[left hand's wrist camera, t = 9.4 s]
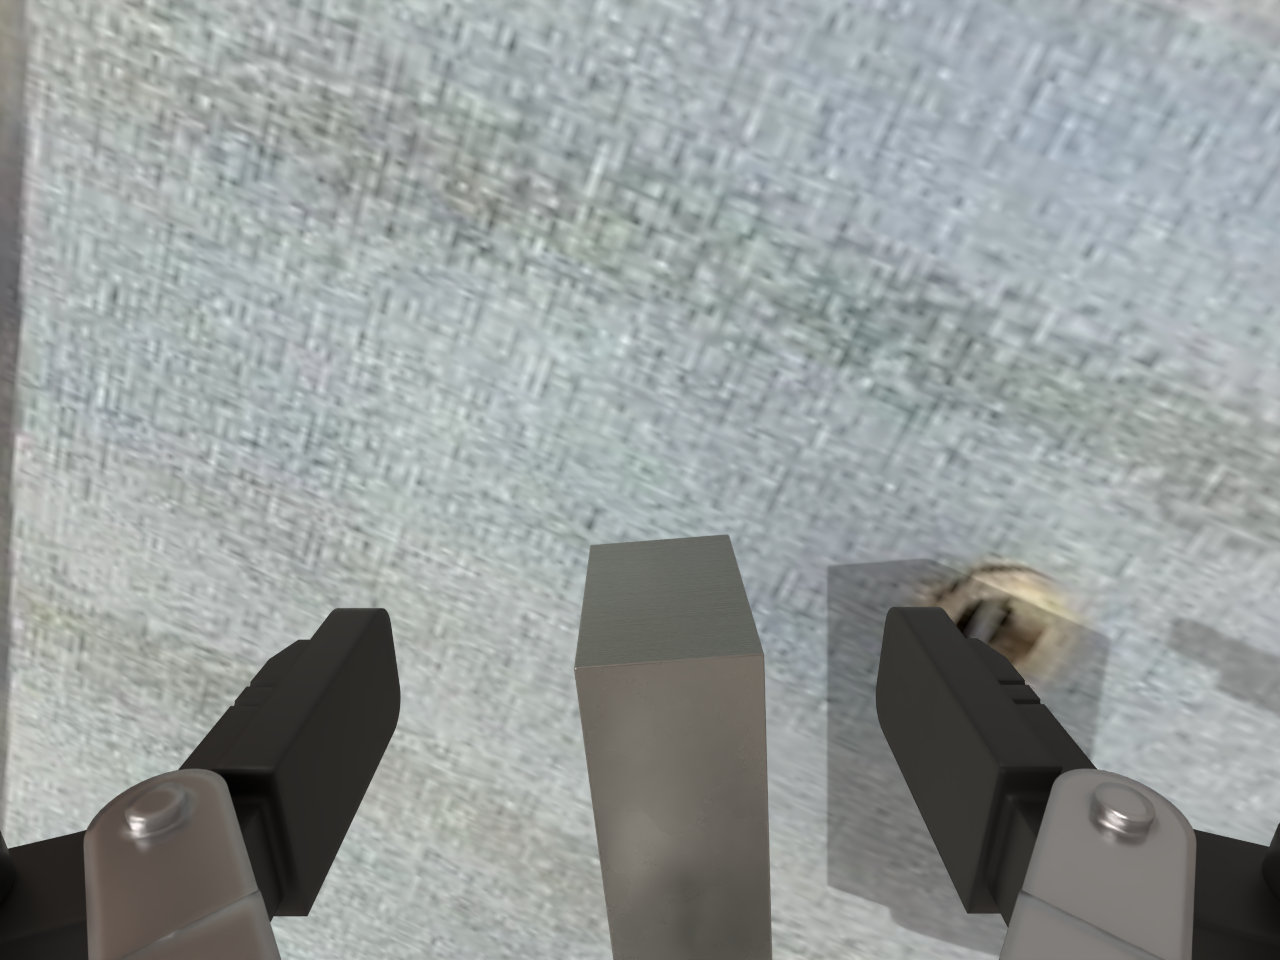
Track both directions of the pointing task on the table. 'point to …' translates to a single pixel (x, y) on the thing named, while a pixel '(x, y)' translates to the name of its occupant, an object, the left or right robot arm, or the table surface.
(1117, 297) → the table surface
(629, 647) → the bar
